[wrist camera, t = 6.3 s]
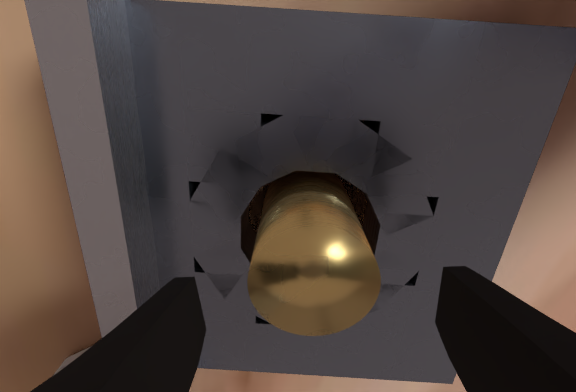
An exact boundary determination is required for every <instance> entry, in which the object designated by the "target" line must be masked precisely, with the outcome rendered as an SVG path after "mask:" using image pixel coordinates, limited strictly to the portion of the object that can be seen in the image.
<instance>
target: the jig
mask: <svg viewBox="0 0 576 392" xmlns="http://www.w3.org/2000/svg"><path fill="white" fill-rule="evenodd" d="M24 1H25V5H26V10H27V14H28V18H29V23H30V27H31V31H32V36H33V40H34V44H35V49H36V53H37V57H38V62H39V66H40V70H41V75H42V79H43V83H44V88H45V92H46V97H47V101H48V105H49V110H50V114H51V118H52V123H53V127H54V131H55V136H56V140H57V144H58V149H59V153H60V157H61V162H62V166H63V170H64V175H65V179H66V184H67V188H68V192H69V197H70V201H71V205H72V210H73V214H74V218H75V223H76V227H77V231H78V236H79V240H80V244H81V249H82V253H83V257H84V262H85V266H86V271H87V275H88V279H89V284H90V288H91V292H92V297H93V301H94V305H95V310H96V314H97V318H98V323H99V327H100V331H101V336H102V338H103V337H104V336H105V335H107V334H108V333H109V332H110V331H112V330H113V329H114V328H115V327H117V326H118V325H119V324H120V323H121V322H122V321H124V320H125V319H126V318H127V317H128V316H130V315H131V314H132V313H133V312H134V311H135V310H137V309H138V308H139V307H140V306H141V305H142V304H144V303H145V302H146V301H147V300H148V299H149V298H151V297H152V296H153V295H154V294H155V293H156V292H158V291H159V290H160V289H161V288H162V287H163V286H165V285H166V284H167V283H168V282H169V281H171V280H172V279H173V278H175V277H195V280H196V285H197V289H198V294H199V298H200V302H201V307H202V311H203V316H204V320H205V325H206V334H205V338H204V343H203V347H202V352H201V356H200V360H199V364H198V367H197V368H206V369H222V370H238V371H254V372H270V373H286V374H302V375H318V376H334V377H351V378H367V379H383V380H399V381H415V382H431V383H447V384H452V383H453V381H454V378H455V376H456V373H457V372H456V370H455V369H454V367H453V365H452V363H451V361H450V359H449V357H448V354H447V352H446V350H445V347H444V345H443V342H442V340H441V337H440V334H439V332H438V329H437V326H436V324H435V318H436V311H437V304H438V297H439V291H440V284H441V277H442V271H443V267H449V266H466V267H468V268H470V269H472V270H474V271H475V272H477V273H479V274H480V275H482V276H484V277H485V278H487V279H488V280H490V281H492V279H493V277H494V274H495V271H496V269H497V266H498V264H499V261H500V258H501V256H502V253H503V251H504V248H505V245H506V243H507V240H508V238H509V235H510V232H511V230H512V227H513V225H514V222H515V219H516V217H517V214H518V212H519V209H520V206H521V204H522V201H523V199H524V196H525V193H526V191H527V188H528V186H529V183H530V180H531V178H532V175H533V173H534V170H535V167H536V165H537V162H538V160H539V157H540V154H541V152H542V149H543V147H544V144H545V141H546V139H547V136H548V133H549V131H550V128H551V126H552V123H553V120H554V118H555V115H556V113H557V110H558V107H559V105H560V102H561V100H562V97H563V94H564V92H565V89H566V87H567V84H568V81H569V79H570V76H571V74H572V71H573V68H574V66H575V63H576V28H571V27H556V26H541V25H526V24H510V23H495V22H480V21H465V20H449V19H434V18H419V17H404V16H388V15H373V14H358V13H343V12H327V11H312V10H297V9H282V8H266V7H251V6H236V5H221V4H205V3H190V2H175V1H160V0H24ZM267 114H271V115H269V116H267ZM360 120H364V123H363V122H362V121H360ZM293 171H311V172H326V173H336V174H338V175H339V176H341V177H342V178H344V179H345V180H347V181H348V182H350V183H351V184H353V185H354V186H356V187H357V188H359V189H360V190H362V191H363V192H364V194H365V197H366V199H367V204H366V210H365V215H364V221H363V227H362V229H363V231H364V233H365V236H366V238H367V240H368V243H369V245H370V247H371V250H372V252H373V254H374V257H375V259H376V261H377V264H378V267H379V270H380V276H381V286H380V292H379V295H378V298H377V300H376V302H375V304H374V306H373V307H372V309H371V310H370V311H369V312H368V313H367V315H366V316H365V317H363V318H362V319H361V320H360V321H359V322H357V323H356V324H354V325H353V326H351V327H349V328H347V329H345V330H342V331H340V332H337V333H333V334H329V335H323V336H304V335H297V334H293V333H289V332H286V331H284V330H281V329H279V328H277V327H275V326H274V325H272V324H270V323H269V322H268V321H267V320H265V319H264V318H263V317H262V316H261V315H260V314H259V313H258V311H257V310H256V309H255V307H254V305H253V304H252V302H251V299H250V296H249V293H248V286H247V280H248V272H249V268H250V263H251V259H252V254H253V250H254V245H255V241H256V236H257V233H256V232H255V230H254V228H253V227H252V225H251V224H250V222H249V203H250V202H251V200H252V199H253V197H254V196H255V194H256V193H257V191H258V190H259V188H260V187H261V186H264V185H266V184H268V183H270V182H272V181H274V180H276V179H278V178H281V177H283V176H285V175H287V174H289V173H291V172H293Z"/></svg>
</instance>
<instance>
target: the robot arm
mask: <svg viewBox="0 0 576 392" xmlns="http://www.w3.org/2000/svg"><path fill="white" fill-rule="evenodd" d="M435 324H436V326H437V329H438V332H439V334H440V337H441V340H442V342H443V345H444V347H445V350H446V352H447V354H448V357H449V359H450V361H451V363H452V365H453V367H454V369H455V370H456V372H457V374H458V376H459V378H460V380H461V382H462V384H463V385H464V387H465V389H466V391H467V392H576V333H575V332H573V331H572V330H570V329H568V328H566V327H565V326H563V325H561V324H560V323H558V322H556V321H555V320H553V319H551V318H550V317H548V316H546V315H545V314H543V313H541V312H540V311H538V310H536V309H535V308H533V307H532V306H530V305H528V304H527V303H525V302H523V301H522V300H520V299H519V298H517V297H515V296H514V295H512V294H511V293H509V292H508V291H506V290H504V289H503V288H501V287H500V286H498V285H496V284H495V283H493V282H492V281H490V280H488V279H487V278H485V277H484V276H482V275H480V274H479V273H477V272H475V271H474V270H472V269H470V268H468V267H466V266H449V267H443V271H442V277H441V284H440V291H439V297H438V304H437V311H436V318H435ZM205 334H206V325H205V320H204V316H203V311H202V307H201V302H200V298H199V294H198V289H197V285H196V280H195V277H175V278H173V279H172V280H171V281H169V282H168V283H167V284H166V285H165V286H163V287H162V288H161V289H160V290H159V291H158V292H156V293H155V294H154V295H153V296H152V297H151V298H149V299H148V300H147V301H146V302H145V303H144V304H142V305H141V306H140V307H139V308H138V309H137V310H135V311H134V312H133V313H132V314H131V315H130V316H128V317H127V318H126V319H125V320H124V321H122V322H121V323H120V324H119V325H118V326H117V327H115V328H114V329H113V330H112V331H110V332H109V333H108V334H107V335H105V336H104V337H103V338H102V339H100V340H99V341H98V342H97V343H95V344H94V345H93V346H92V347H90V348H89V349H88V350H86V351H85V352H84V353H83V354H81V355H80V356H79V357H78V358H76V359H75V360H74V361H72V362H71V363H70V364H68V365H67V366H66V367H64V368H63V369H62V370H60V371H59V372H58V373H56V374H55V375H53V376H52V377H51V378H49V379H48V380H46V381H45V382H43V383H42V384H41V385H39V386H38V387H36V388H35V389H33V390H32V391H31V392H189V390H190V387H191V384H192V381H193V378H194V375H195V373H196V370H197V367H198V364H199V360H200V356H201V352H202V347H203V343H204V338H205Z"/></svg>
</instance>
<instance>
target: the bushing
mask: <svg viewBox="0 0 576 392" xmlns="http://www.w3.org/2000/svg"><path fill="white" fill-rule="evenodd" d="M247 286H248V293H249V296H250V299H251V302H252V304H253V305H254V307H255V309H256V310H257V311H258V313H259V314H260V315H261V316H262V317H263V318H264V319H265V320H267V321H268V322H269V323H270V324H272V325H274V326H275V327H277V328H279V329H281V330H284V331H286V332H289V333H293V334H297V335H304V336H323V335H329V334H333V333H337V332H340V331H342V330H345V329H347V328H349V327H351V326H353V325H354V324H356V323H357V322H359V321H360V320H361V319H362V318H363V317H365V316H366V315H367V313H368V312H369V311H370V310H371V309H372V307H373V306H374V304H375V302H376V300H377V298H378V295H379V292H380V286H381V276H380V270H379V267H378V264H377V261H376V259H375V257H374V254H373V252H372V250H371V247H370V245H369V243H368V240H367V238H366V236H365V233H364V231H363V229H362V226H361V224H360V222H359V219H358V217H357V215H356V212H355V210H354V208H353V205H352V203H351V201H350V198H349V196H348V194H347V191H346V189H345V187H344V185H343V183H342V182H341V181H340V179H339V178H338V177H337V176H336V175H335V174H333V173H326V172H311V171H293V172H291V173H289V174H287V175H285V176H283V177H281V178H278V179H276V180H274V181H272V182H271V184H270V186H269V187H268V190H267V192H266V196H265V200H264V205H263V209H262V214H261V218H260V223H259V227H258V232H257V236H256V241H255V245H254V250H253V254H252V259H251V263H250V268H249V272H248V280H247Z"/></svg>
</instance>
